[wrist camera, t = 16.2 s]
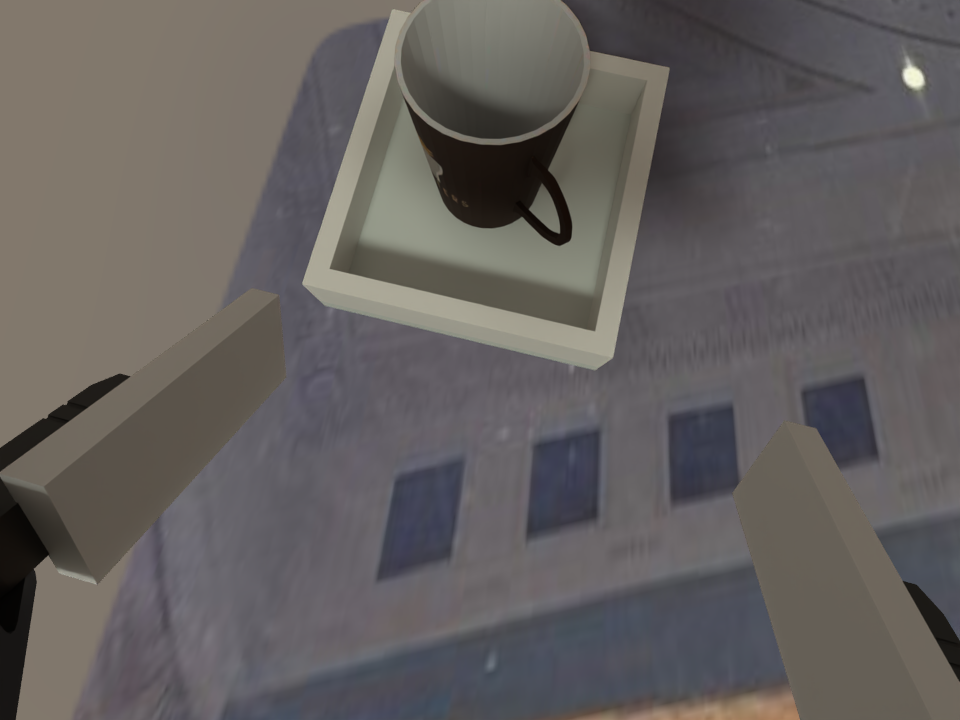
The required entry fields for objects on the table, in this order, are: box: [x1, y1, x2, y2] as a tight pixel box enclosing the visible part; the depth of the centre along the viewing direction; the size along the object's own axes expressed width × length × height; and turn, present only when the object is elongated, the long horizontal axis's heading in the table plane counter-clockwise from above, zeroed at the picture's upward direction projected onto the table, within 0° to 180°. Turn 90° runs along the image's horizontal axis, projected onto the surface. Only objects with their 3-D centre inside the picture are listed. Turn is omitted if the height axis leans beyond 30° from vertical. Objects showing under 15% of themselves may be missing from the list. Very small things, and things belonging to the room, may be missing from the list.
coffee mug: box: [394, 0, 590, 246], centre depth 26 cm, size 12×9×10 cm
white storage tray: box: [302, 9, 670, 370], centre depth 30 cm, size 17×18×4 cm
